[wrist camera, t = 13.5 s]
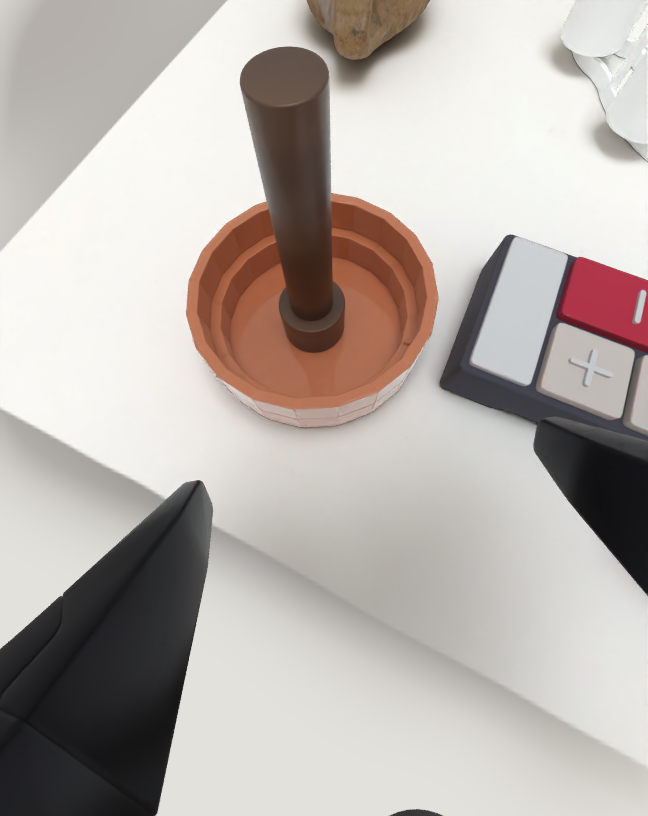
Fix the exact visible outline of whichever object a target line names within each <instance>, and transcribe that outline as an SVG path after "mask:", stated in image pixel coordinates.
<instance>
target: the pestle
mask: <svg viewBox="0 0 648 816" xmlns="http://www.w3.org/2000/svg"><path fill="white" fill-rule="evenodd" d="M240 87H241V91H242V95H243V100H244V104H245V109H246V113H247V117H248V122H249V126H250V130H251V135H252V139H253V144H254V148H255V152H256V157H257V161H258V165H259V170H260V174H261V179H262V183H263V187H264V192H265V196H266V200H267V205H268V209H269V213H270V218H271V222H272V227H273V231H274V235H275V240H276V244H277V248H278V253H279V257H280V262H281V266H282V270H283V275H284V279H285V283H286V287H285V288H284V290H283V291H282V293H281V296H280V299H279V312H280V315H281V319H282V322H283V325H284V329H285V332H286V335H287V337H288V339H289V341H290V342H291V343H292V344H293V345H294V346H295V347H296V348H298V349H300V350H302V351H305V352H311V353H316V352H322V351H325V350H328V349H330V348H331V347H333V346H334V345H335V344H336V343H337V342H338V341H339V340H340V338H341V336H342V334H343V331H344V318H345V298H344V294H343V292H342V290H341V288H340V287H339V286H338V285H337V284H336V283H335V282H334V281H333V273H332V214H331V154H330V95H329V71H328V68H327V65H326V63H325V62H324V60H323V59H322V58H321V57H320V56H318V55H317V54H316V53H314V52H312V51H310V50H307V49H304V48H299V47H278V48H273V49H269V50H267V51H264V52H262V53H260V54H258V55H256V56H255V57H253V58H252V59H251V60H250V61H249V62H248V63H247V64H246V65H245V66H244V68H243V70H242V72H241V76H240Z"/></svg>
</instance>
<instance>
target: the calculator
mask: <svg viewBox="0 0 648 816" xmlns="http://www.w3.org/2000/svg"><path fill="white" fill-rule="evenodd" d="M440 384H441V386H442V387H443V388H444V389H446V390H449V391H451V392H454V393H456V394H458V395H461V396H463V397H466V398H468V399H471V400H473V401H475V402H478V403H480V404H483V405H485V406H488V407H491V408H497V409H502V410H507V411H510V412H512V413H515V414H517V415H520V416H522V417H525V418H527V419H529V420H532V421H534V422H537V423H538V422H539V420H541V419H544V418H549V417H561V418H565V419H568V420H572V421H576V422H580V423H583V424H587V425H591V426H595V427H598V428H602V429H606V430H609V431H613V432H617V433H621V434H624V435H628V436H632V437H635V438H639V439H643V440H647V441H648V280H645V279H643V278H640V277H637V276H634V275H631V274H629V273H626V272H623V271H620V270H617V269H615V268H612V267H609V266H606V265H603V264H600V263H598V262H595V261H592V260H589V259H586V258H583V257H578V258H577V257H574V256H571V255H568V254H565V253H563V252H560V251H557V250H554V249H551V248H549V247H546V246H543V245H540V244H537V243H535V242H532V241H529V240H526V239H523V238H521V237H518V236H515V235H507V236H506V237H505V238H504V239H503V241H502V242H501V244H500V245H499V246H498V248H497V249H496V251H495V252H494V253H493V255H492V256H491V258H490V259H489V260H488V262H487V263H486V265H485V266H484V268H483V269H482V271H481V274H480V276H479V279H478V282H477V284H476V287H475V290H474V293H473V295H472V298H471V301H470V303H469V306H468V309H467V311H466V314H465V317H464V319H463V322H462V325H461V327H460V330H459V333H458V335H457V338H456V341H455V343H454V346H453V349H452V351H451V354H450V357H449V359H448V362H447V365H446V367H445V370H444V373H443V376H442V378H441V382H440Z"/></svg>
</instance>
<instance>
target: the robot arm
mask: <svg viewBox="0 0 648 816" xmlns="http://www.w3.org/2000/svg"><path fill="white" fill-rule="evenodd" d="M534 451H535V453H536V455H537V456H538V458H539V459H540V461H541V462H542V464H543V465H544V467H545V468H546V469H547V471H548V472H549V474H550V475H551V477H552V478H553V480H554V481H555V483H556V484H557V486H558V487H559V489H560V490H561V491H562V493H563V494H564V496H565V497H566V498H567V500H568V501H569V502H570V504H571V505H572V506H573V507H574V509H575V510H576V511H577V512H578V513H579V515H580V516H581V517H582V518H583V519H584V521H585V522H586V523H587V524H588V525H589V527H590V528H591V529H592V530H593V531H594V532H595V534H596V535H597V536H598V537H599V538H600V540H601V541H602V542H603V543H604V544H605V546H606V547H607V548H608V549H609V550H610V552H611V553H612V554H613V555H614V556H615V558H616V559H617V560H618V561H619V562H620V563H621V565H622V566H623V567H624V568H625V569H626V571H627V572H628V573H629V574H630V575H631V577H632V578H633V579H634V580H635V581H636V583H637V584H638V585H639V586H640V587H641V588H642V590H643V591H644V592H645V593H646V594H647V596H648V441H647V440H643V439H639V438H635V437H632V436H628V435H624V434H621V433H617V432H613V431H609V430H606V429H602V428H598V427H595V426H591V425H587V424H583V423H580V422H576V421H572V420H568V419H565V418H561V417H549V418H544V419H541V420H539V422H538V424H537V428H536V433H535V439H534ZM212 516H213V506H212V502H211V500H210V497H209V495H208V493H207V490H206V488H205V486H204V483H203V482H202V481H200V480H196V481H191V482H186V483H184V484H183V485H182V486H181V487H179V488H178V489H177V490H176V491H175V492H174V493H173V494H172V495H171V496H170V497H168V498H167V499H166V500H165V501H164V502H163V503H162V504H161V505H160V506H159V507H158V508H156V509H155V510H154V511H153V512H152V513H151V514H150V515H149V516H148V517H146V518H145V519H144V520H143V521H142V522H141V523H140V524H139V525H138V526H137V527H136V528H134V529H133V530H132V531H131V532H130V533H129V534H128V535H127V536H126V537H125V538H123V539H122V540H121V541H120V542H119V543H118V544H117V545H116V546H115V547H114V548H113V549H111V550H110V551H109V552H108V553H107V554H106V555H105V556H104V557H103V558H102V559H100V560H99V561H98V562H97V563H96V564H95V565H94V566H93V567H92V568H90V570H88V571H87V572H86V573H85V574H84V575H83V576H82V577H81V578H80V579H78V580H77V581H76V582H75V583H74V584H73V585H72V586H71V587H70V588H69V589H67V590H66V591H65V592H64V594H63V596H60V597H58V598H57V599H56V600H55V601H54V602H53V603H52V604H51V605H50V606H49V607H48V608H46V610H44V611H43V612H42V613H41V614H40V615H39V616H38V617H36V618H35V619H34V620H33V621H32V622H31V623H30V624H29V625H27V626H26V627H25V628H24V629H23V630H22V631H21V632H19V633H18V634H17V635H16V636H15V637H14V638H13V639H12V640H10V641H9V642H8V643H7V644H6V645H4V646H3V647H2V648H1V649H0V816H155V815H156V814H157V811H158V807H159V802H160V797H161V792H162V787H163V783H164V778H165V773H166V768H167V763H168V758H169V753H170V748H171V743H172V738H173V734H174V729H175V724H176V719H177V714H178V709H179V705H180V700H181V695H182V690H183V685H184V680H185V676H186V671H187V666H188V661H189V656H190V651H191V646H192V642H193V636H194V632H195V627H196V622H197V617H198V612H199V607H200V603H201V598H202V592H203V588H204V583H205V578H206V573H207V567H208V558H209V549H210V538H211V527H212Z"/></svg>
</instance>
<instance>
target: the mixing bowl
mask: <svg viewBox="0 0 648 816" xmlns="http://www.w3.org/2000/svg"><path fill="white" fill-rule="evenodd" d="M331 214H332V273H333V281H334V282H335V283H336V284H337V285H338V286H339V287H340V288H341V290H342V292H343V294H344V298H345V318H344V331H343V334H342V336H341V338H340V340H339V341H338V342H337V343H336V344H335V345H334V346H333V347H331V348H330V349H328V350H325V351H322V352H316V353H311V352H305V351H302V350H300V349H298V348H296V347H295V346H294V345H293V344H292V343H291V342H290V341H289V339H288V337H287V335H286V332H285V329H284V325H283V322H282V319H281V315H280V312H279V299H280V296H281V293H282V291H283V290H284V288H285V287H286V283H285V279H284V275H283V270H282V266H281V262H280V257H279V253H278V248H277V244H276V240H275V235H274V231H273V227H272V222H271V218H270V213H269V209H268V205H267V202H263V203H260V204H257V205H255V206H253V207H251V208H250V209H248V210H247V211H245V212H244V213H242V214H240V215H239V216H237V217H236V218H234V219H233V220H231V221H229V222H228V223H226V225H224V226H223V228H222V229H221V230H220V231H219V232H218V233H217V234H216V235H215V237H214V238H213V239H212V240H211V241H210V242H209V243H208V244H207V246H206V247H205V248H204V249H203V250H202V252H201V254H200V257H199V259H198V261H197V263H196V265H195V268H194V270H193V272H192V274H191V277H190V279H189V284H188V297H187V309H186V316H187V320H188V323H189V326H190V330H191V333H192V337H193V340H194V343H195V347H196V348H197V350H198V352H199V353H200V354H201V356H202V357H203V358H204V359H205V361H206V362H207V363H208V365H209V366H210V367H211V369H212V370H213V371H214V373H215V374H216V375H217V376H218V378H219V379H220V380H221V381H222V382H223V383H224V384H225V385H226V386H227V387H228V389H229V390H230V391H231V392H232V393H233V394H234V395H235V396H236V397H237V398H238V399H239V400H240V401H241V402H242V403H244V404H245V405H247V406H249V407H250V408H252V409H253V410H255V411H256V412H258V413H259V414H261V415H262V416H264V417H266V418H267V419H270V420H274V421H278V422H282V423H286V424H290V425H294V426H297V427H302V428H304V427H321V426H337V425H340V424H343V423H346V422H348V421H351V420H353V419H356V418H359V417H361V416H364V415H367V414H369V413H371V412H373V411H374V410H375V409H376V408H378V407H379V406H380V405H381V404H383V403H384V402H385V401H386V400H387V399H389V398H390V397H391V396H392V395H394V394H395V393H396V392H397V391H398V390H399V389H400V387H401V385H402V384H403V382H404V381H405V379H406V377H407V376H408V374H409V372H410V371H411V369H412V368H413V366H414V364H415V363H416V361H417V359H418V357H419V355H420V354H421V352H422V350H423V348H424V346H425V344H426V343H427V341H428V339H429V337H430V335H431V333H432V329H433V324H434V319H435V314H436V309H437V304H438V293H437V287H436V281H435V275H434V269H433V264H432V262H431V260H430V259H429V257H428V255H427V253H426V252H425V250H424V248H423V247H422V245H421V243H420V241H419V240H418V238H417V236H416V235H415V234H414V233H413V232H412V231H411V230H409V229H408V228H407V227H406V226H405V225H404V224H403V223H402V222H400V221H399V220H398V219H397V218H396V217H395V216H394V215H392V214H391V213H389V212H388V211H385V210H383V209H381V208H379V207H377V206H375V205H373V204H370V203H368V202H366V201H364V200H362V199H360V198H359V199H358V198H356V197H350V196H345V195H339V194H333V193H331Z"/></svg>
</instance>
